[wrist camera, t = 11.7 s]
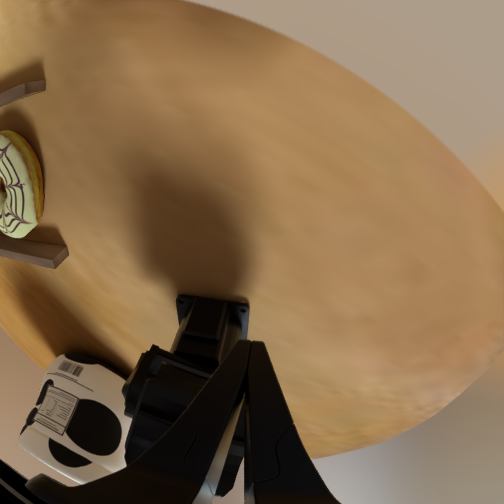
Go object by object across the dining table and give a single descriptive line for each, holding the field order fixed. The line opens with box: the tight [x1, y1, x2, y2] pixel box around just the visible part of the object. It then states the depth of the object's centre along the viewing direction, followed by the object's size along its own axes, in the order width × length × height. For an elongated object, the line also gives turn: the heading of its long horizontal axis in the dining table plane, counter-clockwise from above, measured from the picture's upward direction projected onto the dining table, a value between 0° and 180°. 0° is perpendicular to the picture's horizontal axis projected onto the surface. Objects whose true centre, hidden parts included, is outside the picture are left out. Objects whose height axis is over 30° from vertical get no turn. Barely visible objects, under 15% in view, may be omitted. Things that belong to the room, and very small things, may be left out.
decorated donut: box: [0, 130, 44, 238], centre depth 19 cm, size 10×11×4 cm
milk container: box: [17, 353, 132, 484], centre depth 29 cm, size 17×17×18 cm
